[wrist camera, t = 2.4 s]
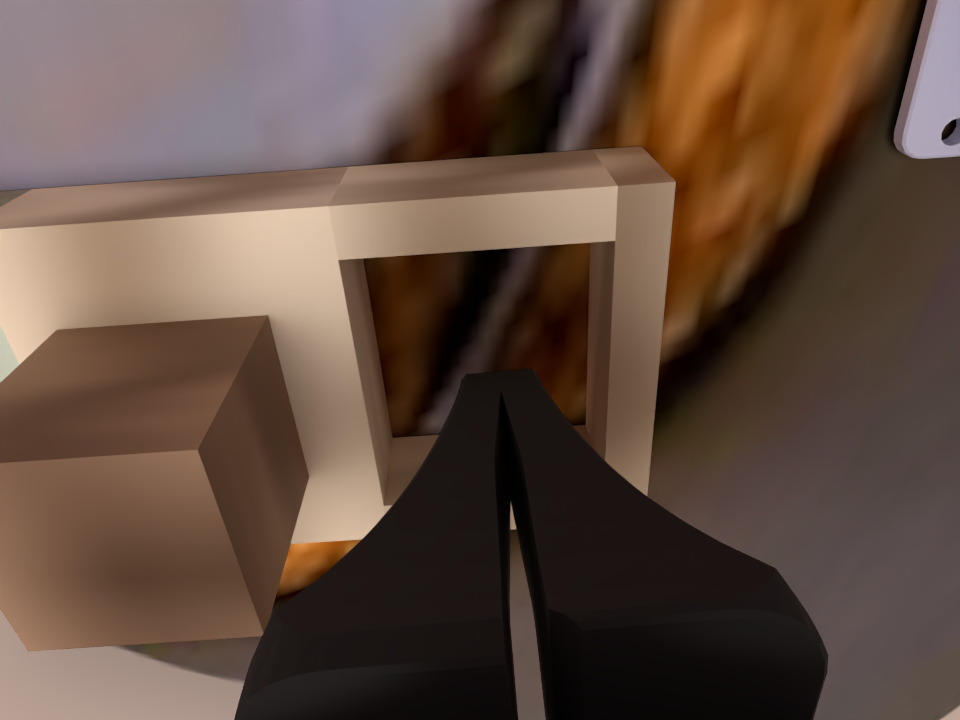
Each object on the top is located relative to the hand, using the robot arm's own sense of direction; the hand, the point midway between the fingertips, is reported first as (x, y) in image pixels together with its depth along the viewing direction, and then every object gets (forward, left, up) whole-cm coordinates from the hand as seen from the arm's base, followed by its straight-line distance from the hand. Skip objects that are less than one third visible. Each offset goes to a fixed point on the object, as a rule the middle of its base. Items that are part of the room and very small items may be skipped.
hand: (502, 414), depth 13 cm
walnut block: (+6, 0, -1) cm, 6 cm away
